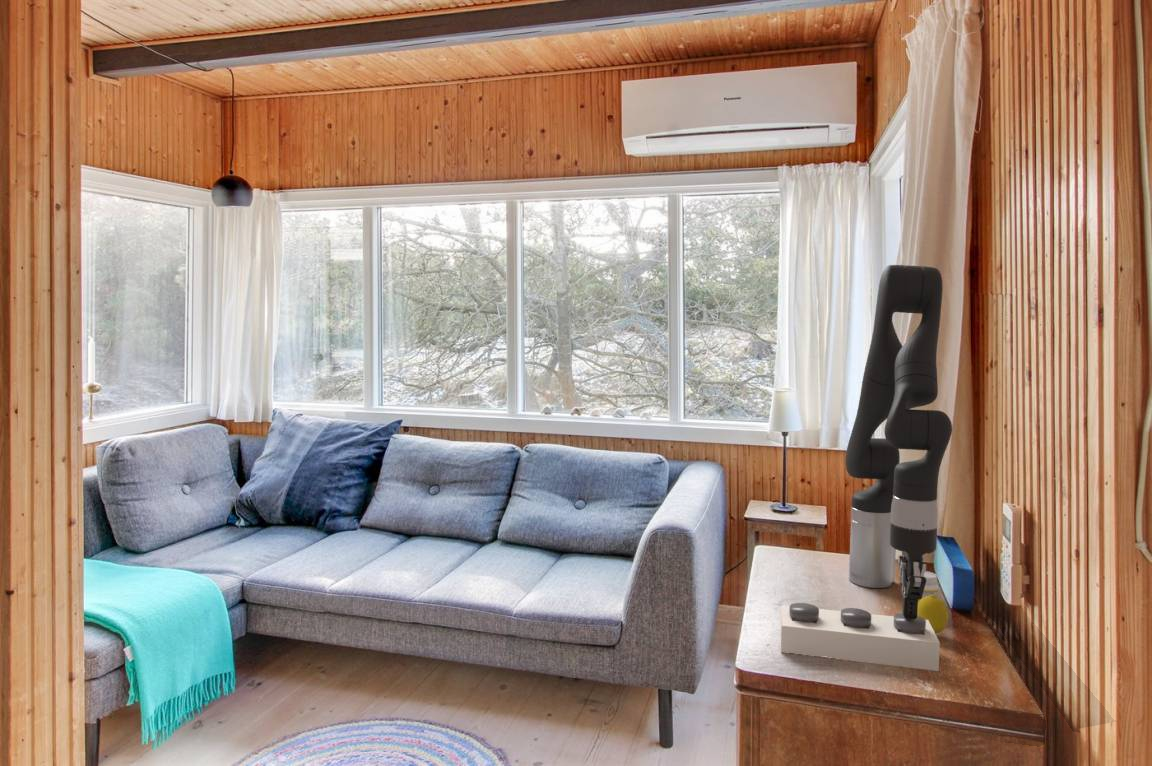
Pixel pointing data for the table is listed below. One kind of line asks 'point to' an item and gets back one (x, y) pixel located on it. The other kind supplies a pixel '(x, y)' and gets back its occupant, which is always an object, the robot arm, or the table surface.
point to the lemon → (933, 612)
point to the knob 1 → (804, 612)
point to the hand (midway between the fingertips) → (909, 617)
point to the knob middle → (855, 618)
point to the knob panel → (860, 641)
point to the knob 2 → (909, 624)
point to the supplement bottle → (930, 585)
